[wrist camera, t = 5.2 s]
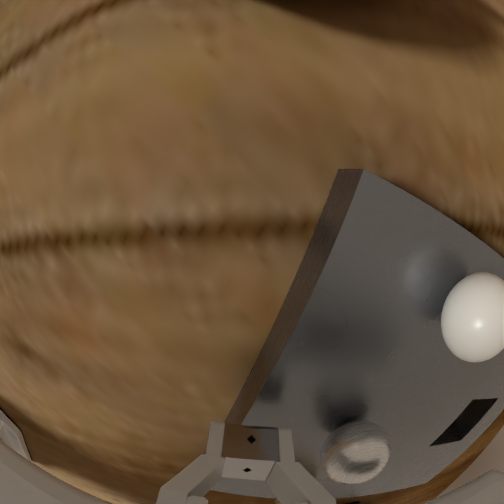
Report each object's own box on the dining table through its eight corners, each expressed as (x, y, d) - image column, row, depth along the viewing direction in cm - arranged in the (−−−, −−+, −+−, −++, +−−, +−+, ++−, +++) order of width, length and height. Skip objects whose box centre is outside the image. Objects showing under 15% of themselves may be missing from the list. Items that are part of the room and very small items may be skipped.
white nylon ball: (457, 338, 9) (496, 381, 6) (412, 326, 9) (455, 378, 6) (491, 273, 8) (540, 305, 5) (451, 248, 8) (511, 281, 5)
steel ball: (356, 445, 11) (369, 492, 8) (303, 442, 11) (311, 496, 8) (392, 408, 10) (414, 457, 7) (337, 403, 10) (354, 463, 7)
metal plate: (419, 466, 17) (426, 483, 14) (203, 460, 15) (198, 487, 13) (544, 301, 11) (561, 314, 9) (338, 168, 10) (363, 169, 7)
